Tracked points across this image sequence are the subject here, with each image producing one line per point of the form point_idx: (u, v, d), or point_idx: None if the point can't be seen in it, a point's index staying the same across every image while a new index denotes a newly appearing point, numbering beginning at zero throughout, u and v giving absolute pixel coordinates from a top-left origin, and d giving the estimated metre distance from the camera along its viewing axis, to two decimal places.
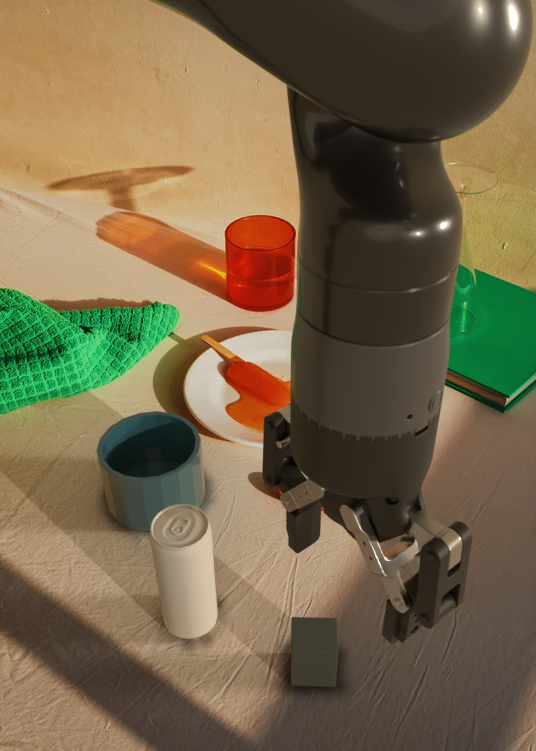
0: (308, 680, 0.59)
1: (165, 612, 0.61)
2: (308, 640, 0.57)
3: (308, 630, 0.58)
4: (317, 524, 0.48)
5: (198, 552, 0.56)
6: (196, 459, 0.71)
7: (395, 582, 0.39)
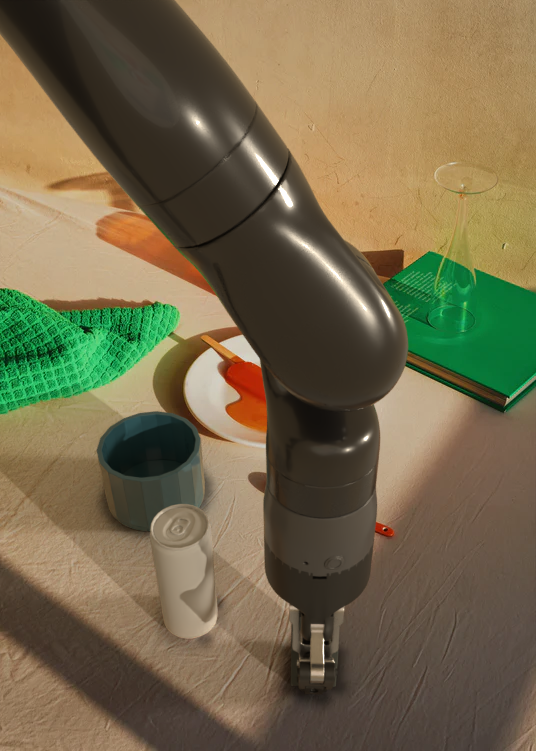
0: None
1: (165, 612, 0.61)
2: None
3: None
4: None
5: (198, 552, 0.56)
6: (196, 459, 0.71)
7: None
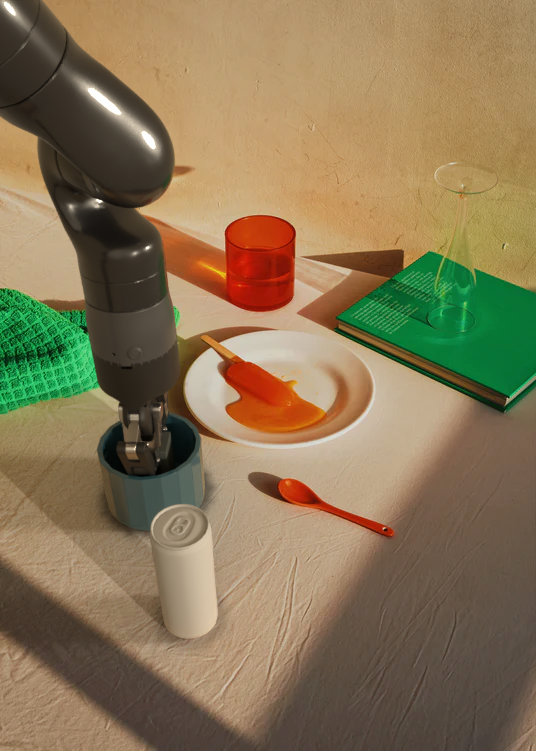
0: None
1: (165, 612, 0.61)
2: None
3: None
4: None
5: (198, 552, 0.56)
6: (196, 458, 0.71)
7: None
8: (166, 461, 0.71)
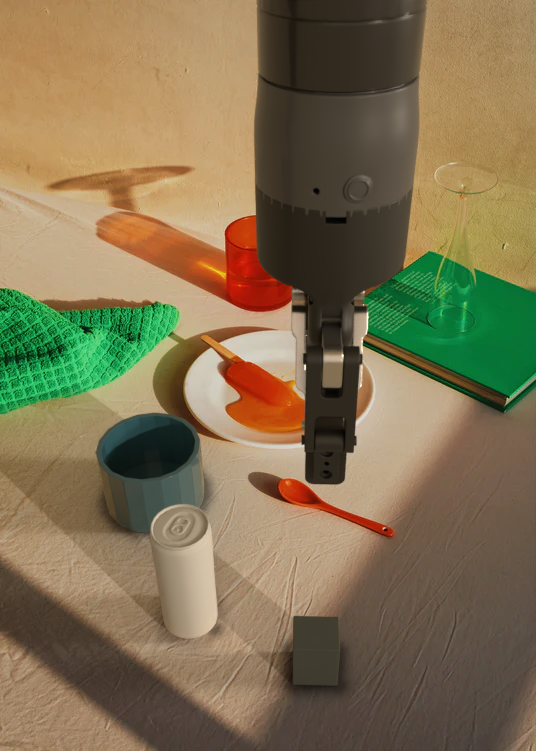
0: (310, 679, 0.59)
1: (165, 612, 0.61)
2: (310, 639, 0.57)
3: (310, 628, 0.58)
4: None
5: (198, 552, 0.56)
6: (196, 460, 0.71)
7: None
8: (338, 659, 0.57)
